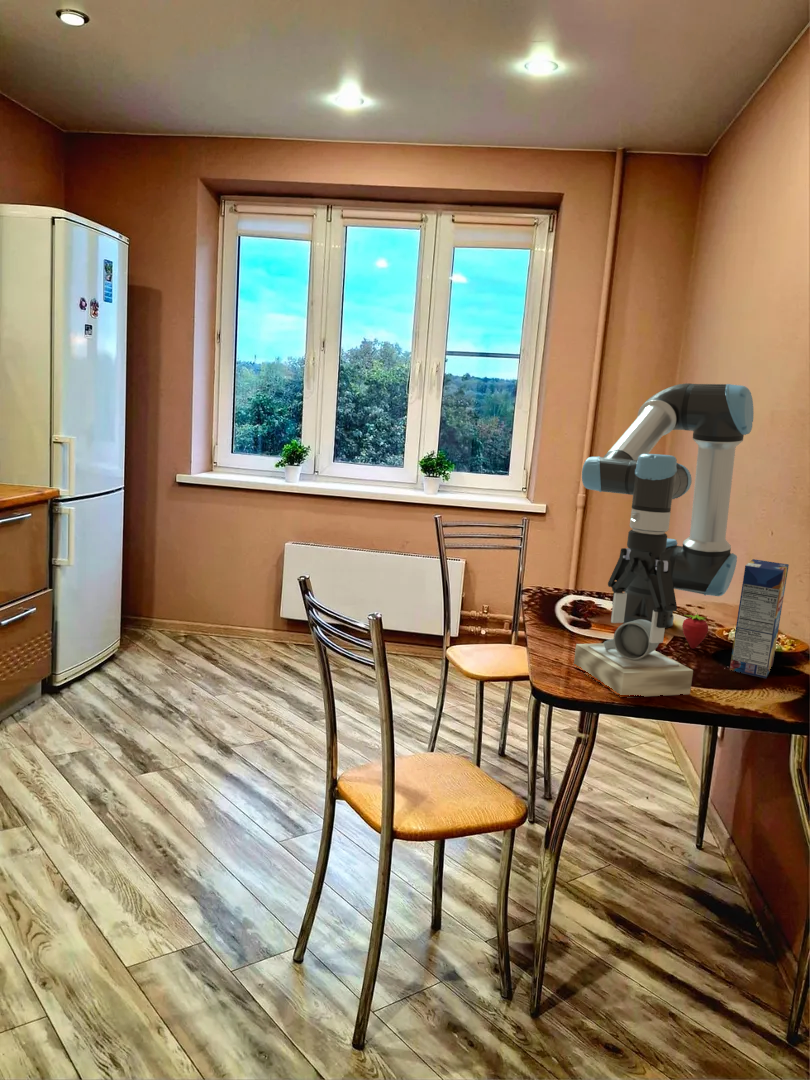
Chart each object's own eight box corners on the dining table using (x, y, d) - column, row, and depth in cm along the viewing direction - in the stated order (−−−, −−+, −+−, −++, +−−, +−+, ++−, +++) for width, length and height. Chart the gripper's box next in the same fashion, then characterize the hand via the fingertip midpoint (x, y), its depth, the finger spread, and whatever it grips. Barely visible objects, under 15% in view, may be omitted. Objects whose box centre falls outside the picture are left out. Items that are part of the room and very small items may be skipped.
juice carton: (738, 657, 172) (753, 559, 168) (772, 665, 168) (788, 564, 164) (729, 670, 162) (745, 565, 158) (766, 678, 158) (783, 571, 154)
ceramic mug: (660, 655, 151) (664, 619, 149) (647, 664, 144) (652, 626, 143) (611, 644, 157) (614, 609, 155) (597, 652, 150) (600, 616, 149)
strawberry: (681, 651, 173) (687, 611, 172) (677, 642, 181) (682, 604, 179) (707, 654, 172) (713, 614, 171) (702, 646, 179) (708, 607, 178)
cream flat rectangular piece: (573, 666, 157) (576, 642, 156) (636, 663, 161) (639, 640, 161) (620, 697, 140) (624, 671, 139) (689, 694, 144) (693, 668, 144)
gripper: (598, 520, 156) (588, 615, 160) (671, 542, 133) (657, 652, 136) (628, 521, 158) (617, 614, 162) (705, 542, 135) (690, 651, 139)
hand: (635, 632), depth 149 cm, fingers open, 13 cm apart
